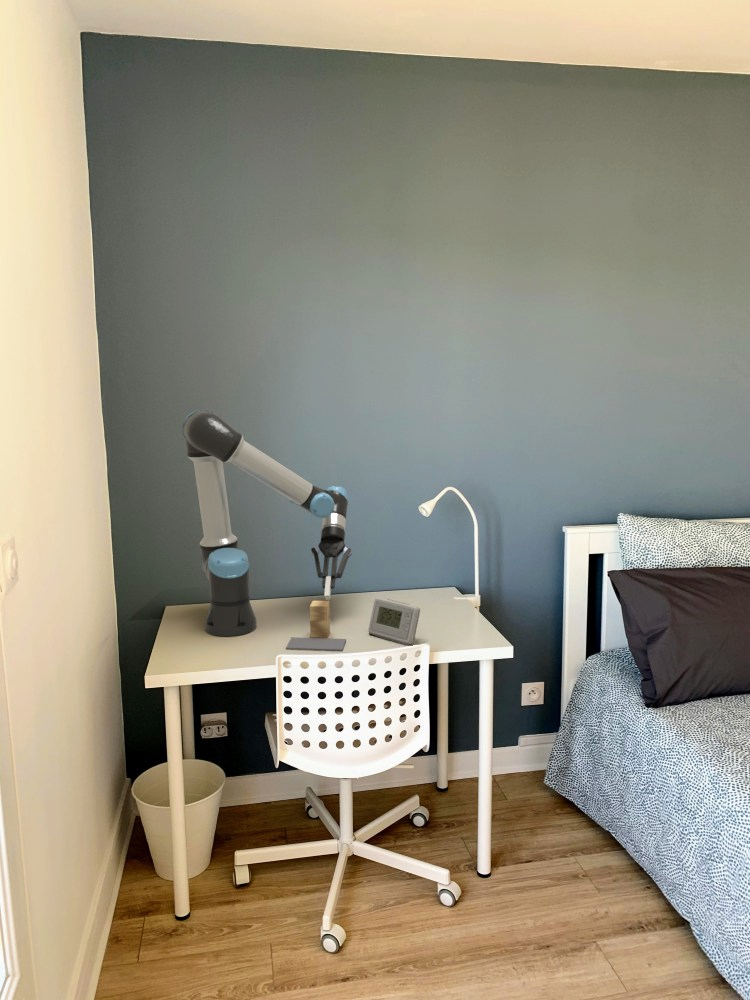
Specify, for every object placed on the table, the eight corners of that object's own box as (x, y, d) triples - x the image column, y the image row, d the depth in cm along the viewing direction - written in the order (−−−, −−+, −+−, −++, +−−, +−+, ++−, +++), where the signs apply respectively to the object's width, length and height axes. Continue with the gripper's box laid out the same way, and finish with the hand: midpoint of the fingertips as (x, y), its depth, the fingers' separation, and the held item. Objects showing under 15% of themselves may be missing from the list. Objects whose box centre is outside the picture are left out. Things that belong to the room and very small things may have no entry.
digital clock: (365, 633, 228) (364, 599, 226) (387, 626, 234) (387, 593, 232) (402, 649, 216) (402, 613, 214) (425, 641, 222) (425, 606, 220)
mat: (285, 649, 216) (285, 647, 216) (291, 638, 224) (291, 637, 224) (342, 651, 215) (342, 649, 215) (346, 640, 223) (346, 638, 223)
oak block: (310, 638, 224) (309, 606, 222) (313, 632, 229) (312, 600, 227) (327, 639, 224) (326, 606, 222) (330, 633, 229) (329, 601, 227)
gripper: (354, 537, 249) (349, 603, 236) (314, 536, 250) (307, 602, 237) (352, 524, 243) (347, 592, 230) (311, 524, 244) (304, 591, 231)
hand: (327, 597), depth 234 cm, fingers closed
